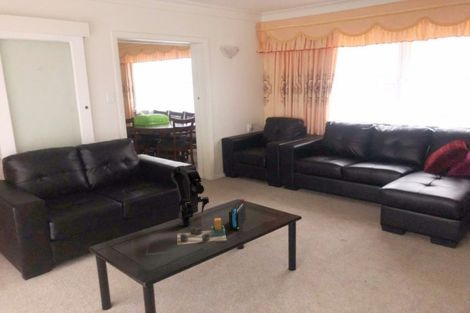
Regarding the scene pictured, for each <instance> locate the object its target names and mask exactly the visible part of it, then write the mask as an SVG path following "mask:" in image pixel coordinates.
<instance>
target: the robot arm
mask: <svg viewBox="0 0 470 313" xmlns="http://www.w3.org/2000/svg"><path fill="white" fill-rule="evenodd" d="M170 178H171V179H172V182H173V183H174V184H175V185H176V189H177V194H178V197H179V202H178V203H179V206H180V207H179V212H178V219H180V220H181V226H182V227H185V228H187V227H190V226H191V225H192V223H191V218H193V217H194V209H193V207H192V206H198V205H199V204H200V203H201V214H203V212H204V209H205V207H206V205H208V204H210V201H209V200H210V198H209V197H208V196H200V195H202V194H203V193H204V192H205V186H203V185H202V178H201V175H200V174H199V171H198V170H194V169H193V170H191V169H189V168H188V167H185V165H178V166H176V167H175V169H173V170H172V171H171V173H170ZM185 179H186V181H187V184H188V197H189V199H188V198H187V193H186V190H185V185H184V180H185Z"/></svg>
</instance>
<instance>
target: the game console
mask: <svg viewBox="0 0 470 313" xmlns="http://www.w3.org/2000/svg"><path fill="white" fill-rule="evenodd" d="M246 206H247V205H246V201H245V199H244V198H242V199H240V202H236V203H235V204H234V205H233V207H232V208H231V209H230V210H229V211H228V224H229V226H228V227H229V230H235V231H236V230H237V231H240V229H241V228H242V226H243V225H244V223H245V222H246V220H247V208H246Z"/></svg>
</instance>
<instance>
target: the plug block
mask: <svg viewBox="0 0 470 313" xmlns="http://www.w3.org/2000/svg"><path fill="white" fill-rule="evenodd" d="M214 226H215V230H222V228H221V226H222V218H221V217H215V218H214Z"/></svg>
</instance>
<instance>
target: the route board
mask: <svg viewBox="0 0 470 313" xmlns="http://www.w3.org/2000/svg"><path fill="white" fill-rule="evenodd" d="M221 228H222V230H215V225H214V226H212V225H211V230H203V228H202V227H198V228H197V227H190V232H183V233H180V232H179V233H177V234H176V236H177V238H176V239H177V240H176V244H177V245H187V244H196V243H206V242H207V243H208V242H215V243H222V242H227V241H228V239H227V236H226V228H225V226H224V225H223V224H222V225H221Z"/></svg>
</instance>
